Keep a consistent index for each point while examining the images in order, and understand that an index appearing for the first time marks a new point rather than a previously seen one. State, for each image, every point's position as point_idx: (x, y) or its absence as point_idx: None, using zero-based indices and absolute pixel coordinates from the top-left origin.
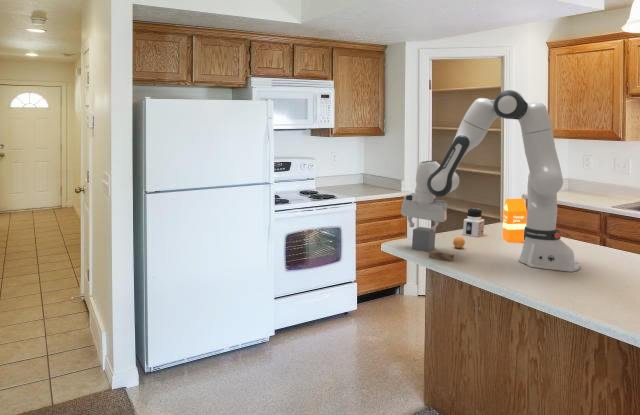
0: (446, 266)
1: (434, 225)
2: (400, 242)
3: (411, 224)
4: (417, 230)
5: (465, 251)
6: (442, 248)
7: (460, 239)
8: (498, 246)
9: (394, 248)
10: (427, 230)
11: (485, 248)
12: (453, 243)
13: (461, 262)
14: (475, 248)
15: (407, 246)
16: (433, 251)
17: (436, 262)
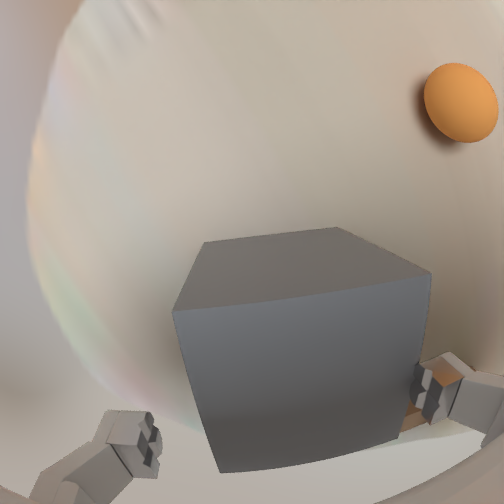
0: (449, 432)
1: (471, 424)
2: (58, 254)
3: (143, 467)
4: (273, 464)
5: (485, 170)
6: (380, 189)
7: (495, 124)
8: (491, 3)
9: (145, 406)
10: (373, 417)
11: (496, 54)
12: (439, 123)
13: (490, 362)
14: (481, 73)
15: (157, 322)
16: (409, 420)
17: (418, 432)
